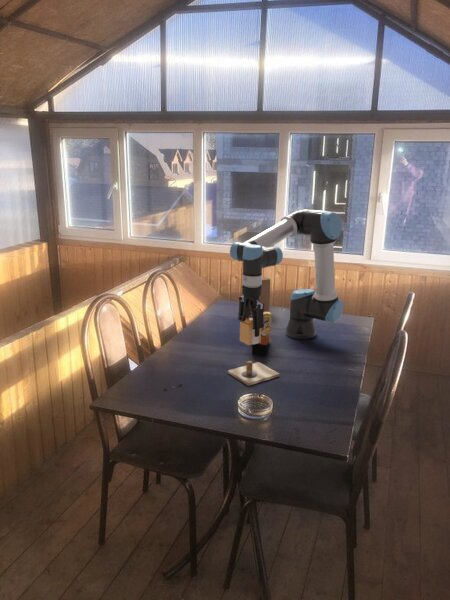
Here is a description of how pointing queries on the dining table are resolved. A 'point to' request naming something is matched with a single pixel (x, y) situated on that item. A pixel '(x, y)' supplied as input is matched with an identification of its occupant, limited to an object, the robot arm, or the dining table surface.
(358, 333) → the dining table surface
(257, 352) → the battery
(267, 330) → the candy box
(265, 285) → the wooden block
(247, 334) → the tan toy brick
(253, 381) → the birch board
